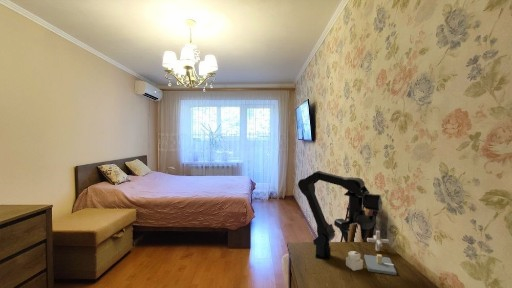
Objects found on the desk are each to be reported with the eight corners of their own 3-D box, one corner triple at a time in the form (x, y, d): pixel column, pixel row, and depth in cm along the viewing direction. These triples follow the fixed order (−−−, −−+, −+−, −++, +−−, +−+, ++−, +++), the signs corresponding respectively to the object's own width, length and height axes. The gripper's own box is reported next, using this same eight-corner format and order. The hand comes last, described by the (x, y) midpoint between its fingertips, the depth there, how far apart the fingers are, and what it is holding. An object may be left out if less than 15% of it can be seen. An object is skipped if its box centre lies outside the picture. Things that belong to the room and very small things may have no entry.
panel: (368, 271, 107) (368, 260, 107) (364, 257, 120) (364, 247, 120) (397, 275, 104) (397, 264, 104) (390, 260, 117) (390, 250, 116)
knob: (353, 270, 108) (353, 256, 108) (345, 264, 113) (346, 251, 112) (362, 268, 109) (362, 254, 109) (354, 263, 114) (355, 249, 114)
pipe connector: (391, 255, 121) (391, 235, 120) (369, 254, 123) (369, 234, 123) (385, 246, 131) (385, 228, 130) (365, 245, 133) (365, 226, 132)
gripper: (350, 214, 99) (350, 252, 100) (386, 209, 105) (385, 245, 106) (333, 206, 110) (333, 240, 110) (367, 202, 116) (366, 235, 117)
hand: (354, 240), depth 111 cm, fingers open, 9 cm apart
